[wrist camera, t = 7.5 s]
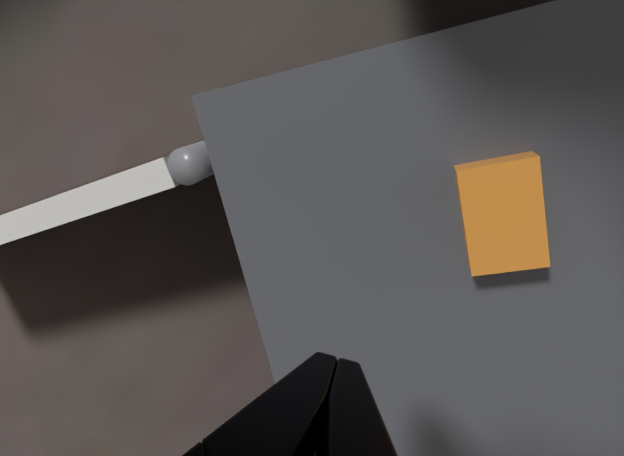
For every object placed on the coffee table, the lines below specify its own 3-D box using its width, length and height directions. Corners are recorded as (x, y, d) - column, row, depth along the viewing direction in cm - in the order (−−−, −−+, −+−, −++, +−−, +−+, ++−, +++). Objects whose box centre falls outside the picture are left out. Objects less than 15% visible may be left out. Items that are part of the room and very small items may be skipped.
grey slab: (255, 89, 19) (178, 97, 13) (572, 8, 16) (678, -35, 10) (358, 492, 25) (339, 636, 18) (606, 491, 22) (687, 663, 15)
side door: (244, 106, 19) (183, 117, 14) (261, 152, 20) (208, 179, 14) (-45, 214, 24) (-168, 251, 19) (-26, 248, 24) (-141, 294, 19)
